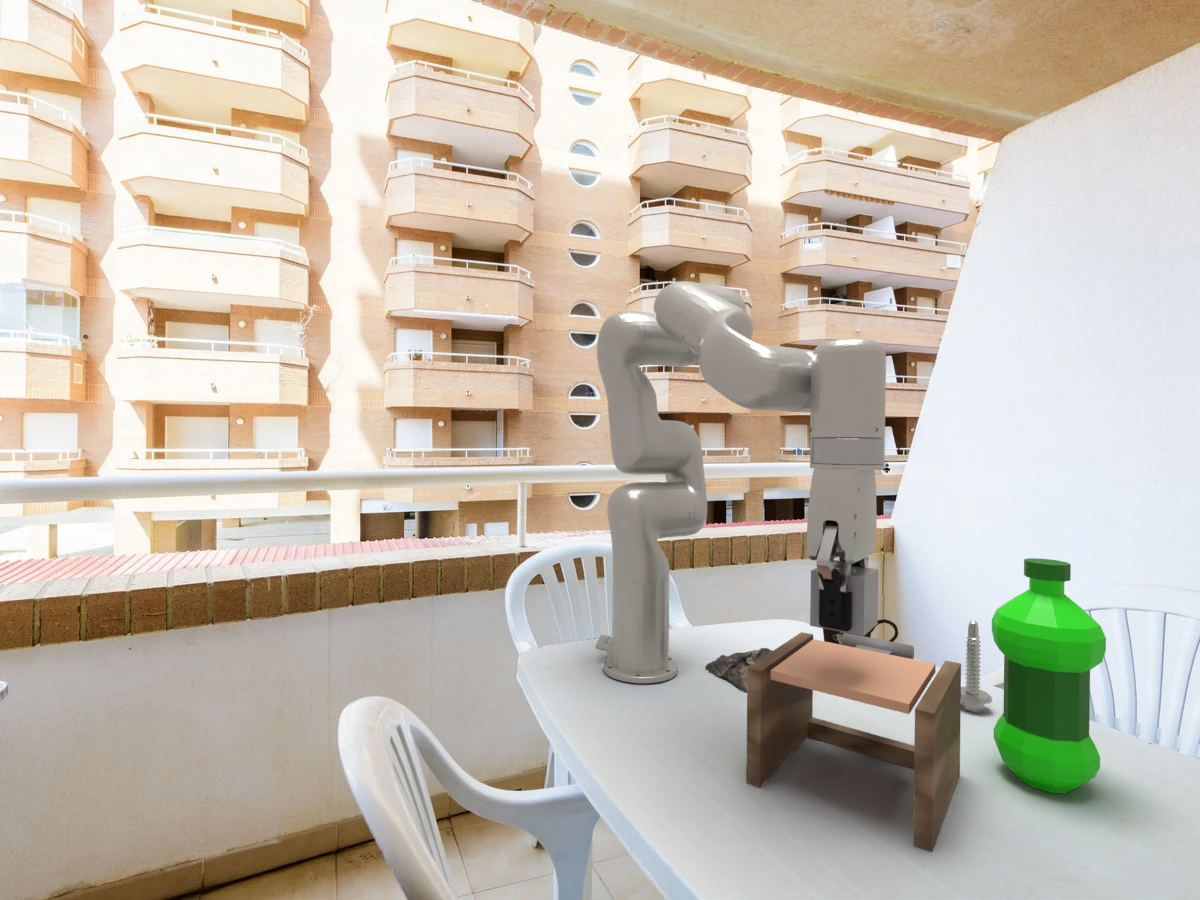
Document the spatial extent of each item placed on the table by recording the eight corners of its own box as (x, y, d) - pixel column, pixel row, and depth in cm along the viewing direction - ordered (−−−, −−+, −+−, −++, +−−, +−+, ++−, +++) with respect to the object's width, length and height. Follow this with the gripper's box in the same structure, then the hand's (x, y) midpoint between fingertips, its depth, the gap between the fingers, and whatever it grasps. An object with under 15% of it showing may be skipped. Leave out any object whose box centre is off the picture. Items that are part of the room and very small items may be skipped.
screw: (961, 715, 87) (947, 700, 91) (998, 717, 86) (982, 703, 91) (962, 623, 86) (948, 614, 91) (999, 625, 86) (983, 616, 91)
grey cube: (810, 625, 66) (810, 570, 66) (826, 614, 70) (827, 562, 70) (863, 636, 63) (864, 577, 63) (877, 623, 67) (878, 569, 67)
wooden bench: (746, 783, 69) (747, 667, 68) (800, 728, 82) (801, 632, 82) (932, 852, 57) (933, 713, 57) (959, 775, 70) (961, 663, 70)
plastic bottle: (1118, 789, 68) (1122, 565, 68) (1072, 817, 63) (1076, 574, 63) (1020, 750, 77) (1022, 551, 76) (972, 771, 71) (975, 558, 71)
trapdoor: (770, 685, 68) (770, 664, 68) (823, 644, 82) (823, 626, 82) (908, 721, 59) (909, 696, 59) (941, 668, 73) (941, 648, 73)
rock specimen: (688, 677, 101) (772, 704, 91) (689, 654, 101) (773, 678, 91) (746, 651, 115) (824, 671, 105) (746, 630, 115) (824, 649, 105)
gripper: (835, 454, 75) (833, 600, 76) (782, 455, 62) (780, 633, 62) (902, 455, 71) (899, 611, 71) (860, 457, 57) (857, 649, 57)
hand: (844, 620), depth 66 cm, fingers closed on grey cube, 5 cm apart
